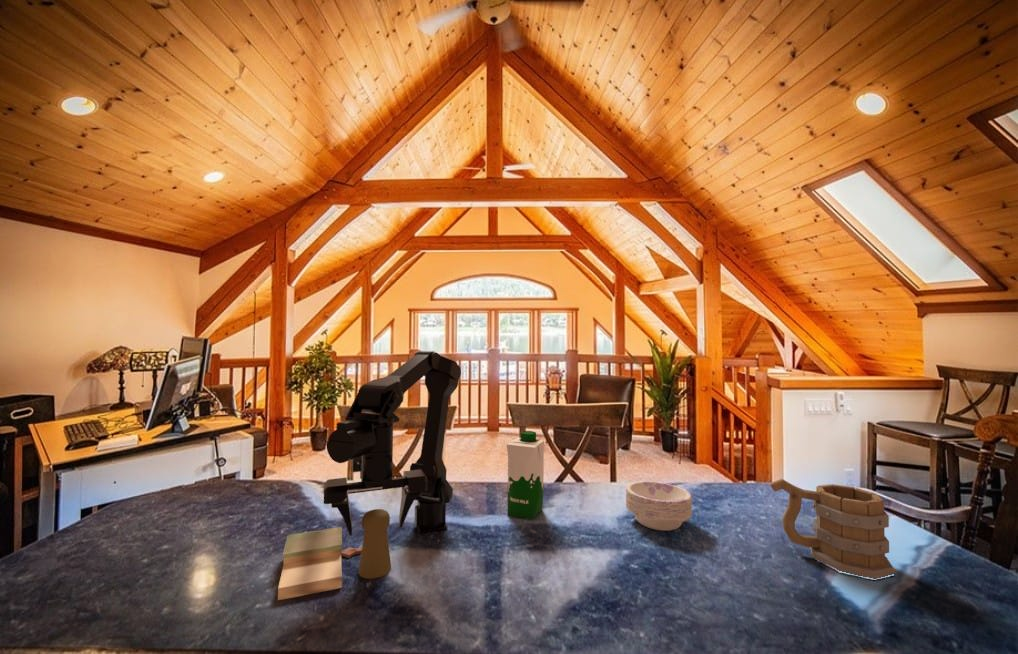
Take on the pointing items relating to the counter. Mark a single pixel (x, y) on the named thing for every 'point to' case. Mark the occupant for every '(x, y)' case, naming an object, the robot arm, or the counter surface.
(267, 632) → the counter surface
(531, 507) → the milk carton
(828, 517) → the tankard
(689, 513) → the paper bowls
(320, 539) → the tan piece
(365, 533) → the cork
